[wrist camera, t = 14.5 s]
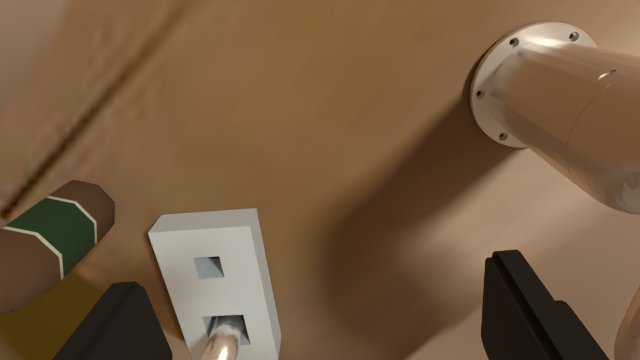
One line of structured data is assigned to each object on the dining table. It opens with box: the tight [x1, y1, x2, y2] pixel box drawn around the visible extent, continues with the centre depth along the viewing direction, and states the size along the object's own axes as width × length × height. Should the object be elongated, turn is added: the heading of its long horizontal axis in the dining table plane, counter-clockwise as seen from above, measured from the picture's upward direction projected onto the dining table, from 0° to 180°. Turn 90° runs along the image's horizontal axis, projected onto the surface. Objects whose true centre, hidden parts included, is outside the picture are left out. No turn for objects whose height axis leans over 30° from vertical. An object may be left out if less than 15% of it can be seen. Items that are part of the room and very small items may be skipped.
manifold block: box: [148, 208, 281, 360], centre depth 50 cm, size 12×22×4 cm, turn 6°
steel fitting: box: [201, 315, 245, 360], centre depth 50 cm, size 4×4×10 cm
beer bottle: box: [0, 180, 114, 314], centre depth 37 cm, size 8×8×24 cm
